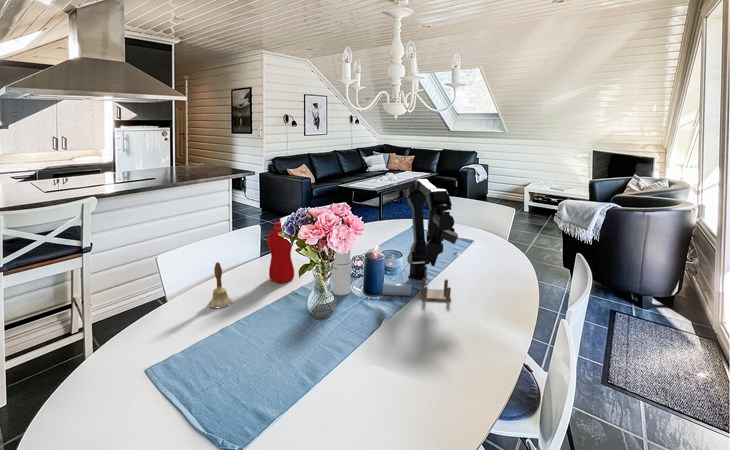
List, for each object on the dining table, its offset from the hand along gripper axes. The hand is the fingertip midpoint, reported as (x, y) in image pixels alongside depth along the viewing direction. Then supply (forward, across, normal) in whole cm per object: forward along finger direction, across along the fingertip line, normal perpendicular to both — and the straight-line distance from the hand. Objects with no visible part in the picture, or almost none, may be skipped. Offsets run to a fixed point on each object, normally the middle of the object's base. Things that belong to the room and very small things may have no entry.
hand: (433, 261), depth 149 cm
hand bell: (+14, -24, +76) cm, 81 cm away
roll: (+14, -4, +13) cm, 19 cm away
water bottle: (+14, +2, +62) cm, 64 cm away
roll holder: (+14, -2, -2) cm, 14 cm away
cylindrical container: (+14, -5, +35) cm, 38 cm away
